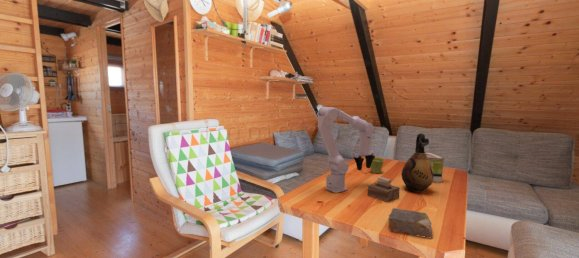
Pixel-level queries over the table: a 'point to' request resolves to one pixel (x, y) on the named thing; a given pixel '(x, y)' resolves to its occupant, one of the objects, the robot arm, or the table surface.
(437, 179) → the tea box
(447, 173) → the table surface
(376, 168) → the plant pot
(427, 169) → the ceramic jug
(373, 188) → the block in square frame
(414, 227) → the geological specimen
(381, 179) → the rectangular block end
